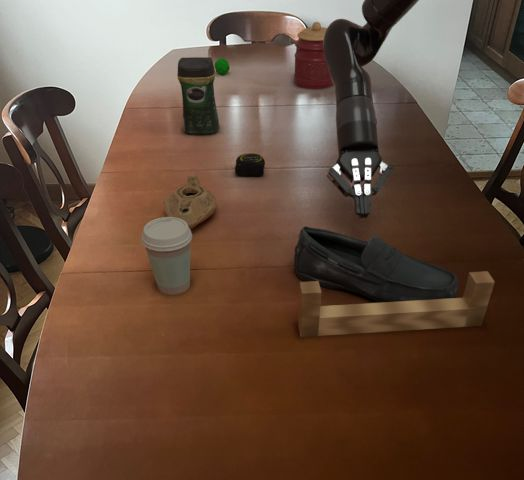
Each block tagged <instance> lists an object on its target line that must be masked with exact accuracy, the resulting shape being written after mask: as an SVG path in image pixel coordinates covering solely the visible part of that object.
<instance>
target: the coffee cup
mask: <svg viewBox="0 0 524 480" xmlns="http://www.w3.org/2000/svg"><path fill="white" fill-rule="evenodd" d="M192 239H193V234H192V229H190V228H189V227H188V225H187V223H186V222H185V221H184V220H182V219H180V218H176V217H168V216H162V217H158V218H155V219H152V220H150V221H149V222H147V223H146V224H145V225H144V227H143V231H142V234H141V244H142V245H143V246H144V247H145V250H146V254H147V258H148V260H149V263H150V267H151V270H152V274H153V277H154V280H155V282H156V283H155V284H156V287H157V290H158V291H159V292H161V293H162V294H165V295H170V296H171V295H172V296H174V295H179V294H182V293H185V292H186V291H187V290H189V288H190V287H191V254H192V253H191V249H192V248H191V247H192V244H191V243H192Z"/></svg>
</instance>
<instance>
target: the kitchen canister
mask: <svg viewBox="0 0 524 480" xmlns="http://www.w3.org/2000/svg"><path fill="white" fill-rule="evenodd" d="M327 28H328V27H322V24H321V22H319V21H314V22H313V23H312V26H310V27H305V28H303V29H302V30H301V31H299V32H298V33H297V38H298V39H297V40H295V42H294V46H295V47H296V48H295V49H296V50H295V53H294V74H293V81H294V85H295V86H297V87H298V88H301V89H305V90H324V89H328V88H331V87H333V86H334V83H333V81H332V78H331V75H330V72H329V69H328V66H327V63H326V60H325V56H324V51H323V40H324V35H325V32H326V30H327Z"/></svg>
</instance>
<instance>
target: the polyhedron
mask: <svg viewBox="0 0 524 480" xmlns="http://www.w3.org/2000/svg"><path fill="white" fill-rule="evenodd" d="M213 65H214V69H215V73H217V74H218V75H220V76H225V75H227V74H228V73H229V72H230V63H229V61H228V60H227V59H225V58H223V57H222V58H221V57H220V58H219V59H217V60H216V61H215V62H214V64H213Z"/></svg>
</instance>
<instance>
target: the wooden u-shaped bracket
mask: <svg viewBox="0 0 524 480" xmlns="http://www.w3.org/2000/svg"><path fill="white" fill-rule="evenodd" d="M467 276H468V277H467V280H466V284H465V287H464V291H463V295H462V297H455V298H450V299H433V300H416V301H399V302H382V303H378V302H368V303H366V302H365V303H350V304H335V305H332V304H331V305H321V304H322V288H321V287H320V285H319V281H310V282H305V281H300V282H299V286H298V287H299V288H298V290H299V291H298V320H297V327H298V332H299V337H301V338H305V337H320V336H336V335H337V336H339V335H352V334H353V335H354V334H355V335H356V334H370V333H371V334H372V333H386V332H388V333H389V332H402V331H419V330H420V331H421V330H436V329H437V330H438V329H449V328H450V329H451V328H467V327H481V326H482V325H483V322H484V319H485V316H486V313H487V309H488V306H489V302H490V299H491V296H492V292H493V289H494V285H495V280H494V278H493V277H492V276H491V274H490V272H489V271H488V270H487V271H486V270H484V271H469V272H468V275H467Z"/></svg>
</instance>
